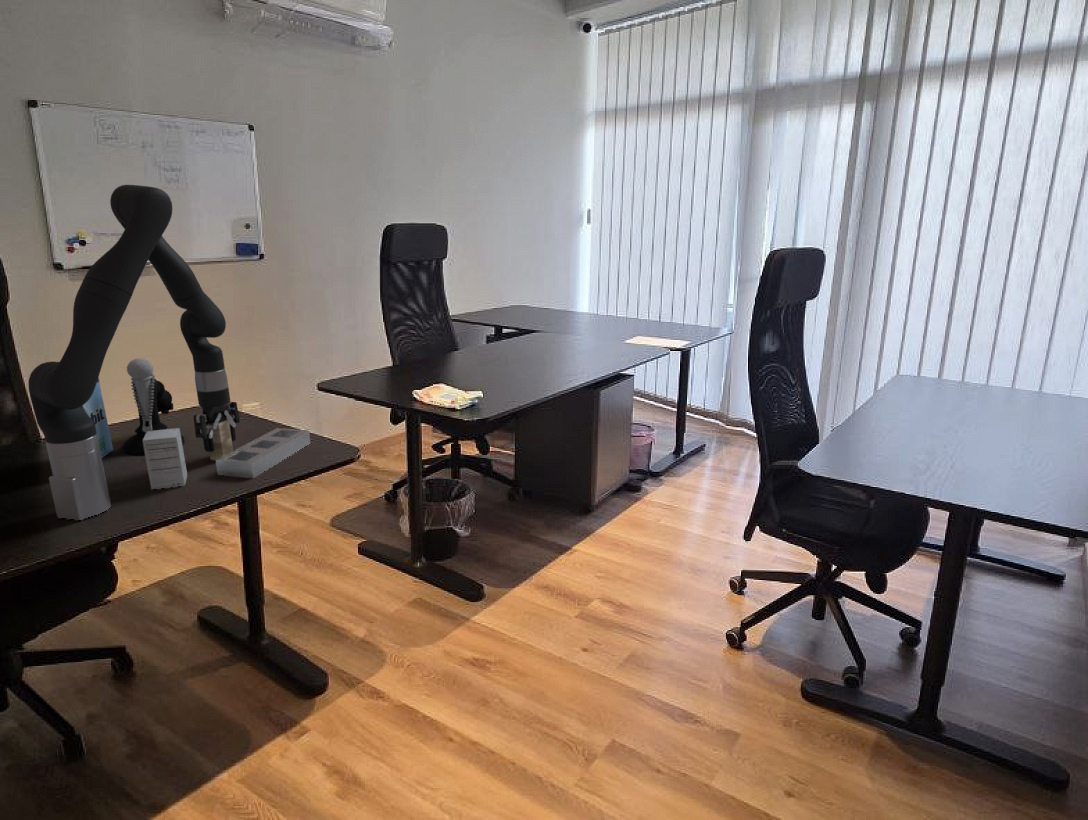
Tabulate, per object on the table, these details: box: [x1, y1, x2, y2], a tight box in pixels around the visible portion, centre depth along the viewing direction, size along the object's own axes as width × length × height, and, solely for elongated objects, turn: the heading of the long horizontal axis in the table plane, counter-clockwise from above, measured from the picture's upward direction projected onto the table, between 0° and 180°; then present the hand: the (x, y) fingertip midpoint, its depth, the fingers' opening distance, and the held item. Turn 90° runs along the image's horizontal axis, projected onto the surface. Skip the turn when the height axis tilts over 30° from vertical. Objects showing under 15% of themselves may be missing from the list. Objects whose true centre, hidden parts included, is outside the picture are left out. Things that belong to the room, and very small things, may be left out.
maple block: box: [207, 420, 234, 461], centre depth 185 cm, size 4×4×10 cm
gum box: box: [83, 377, 114, 459], centre depth 180 cm, size 20×5×23 cm, turn 8°
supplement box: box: [142, 427, 188, 491], centre depth 168 cm, size 7×7×13 cm
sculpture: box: [121, 358, 185, 456], centre depth 196 cm, size 15×24×25 cm, turn 15°
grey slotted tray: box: [215, 427, 311, 479], centre depth 185 cm, size 26×10×4 cm, turn 167°
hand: (221, 445), depth 186 cm, fingers open, 8 cm apart
